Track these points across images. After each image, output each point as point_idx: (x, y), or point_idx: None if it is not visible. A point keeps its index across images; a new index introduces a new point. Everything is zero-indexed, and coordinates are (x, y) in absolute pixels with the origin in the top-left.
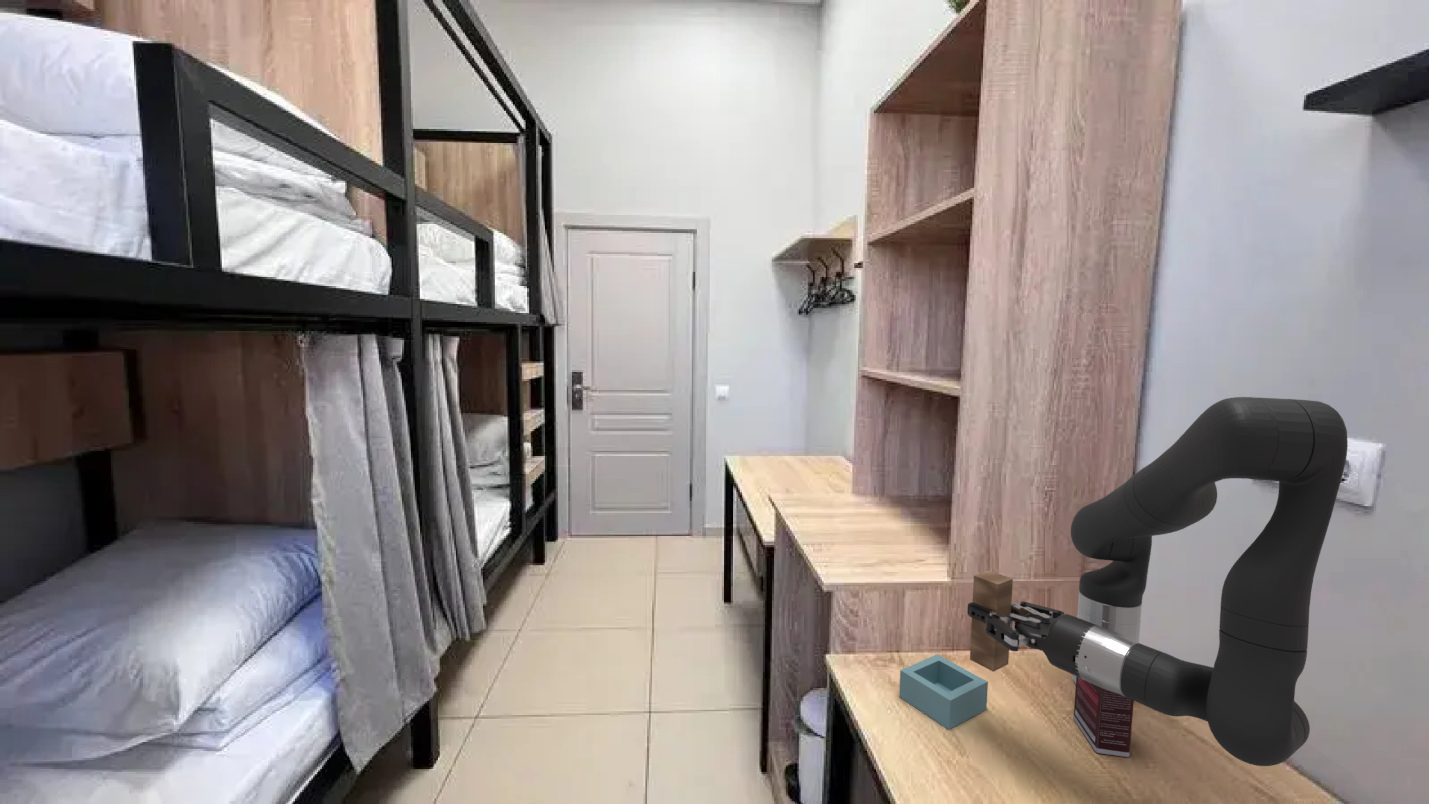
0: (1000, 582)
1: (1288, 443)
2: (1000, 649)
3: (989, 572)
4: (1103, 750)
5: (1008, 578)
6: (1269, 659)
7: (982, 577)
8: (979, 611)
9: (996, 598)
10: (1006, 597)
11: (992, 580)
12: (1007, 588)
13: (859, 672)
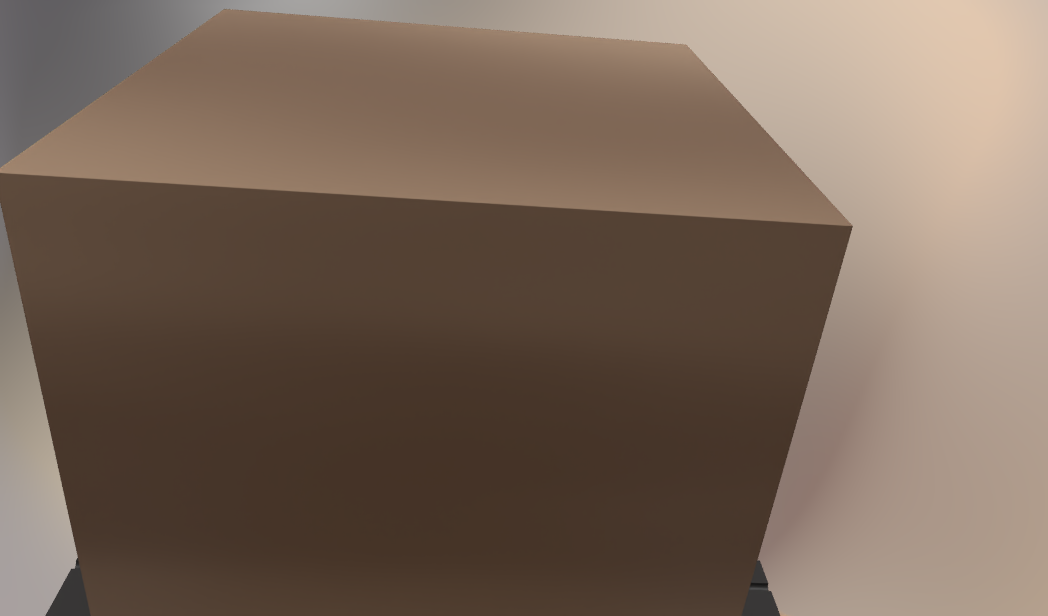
0: (237, 168)
1: None
2: None
3: (614, 53)
4: None
5: (737, 185)
6: None
7: (245, 42)
8: (74, 590)
9: (85, 531)
10: (513, 606)
11: (235, 104)
12: (552, 422)
13: None
